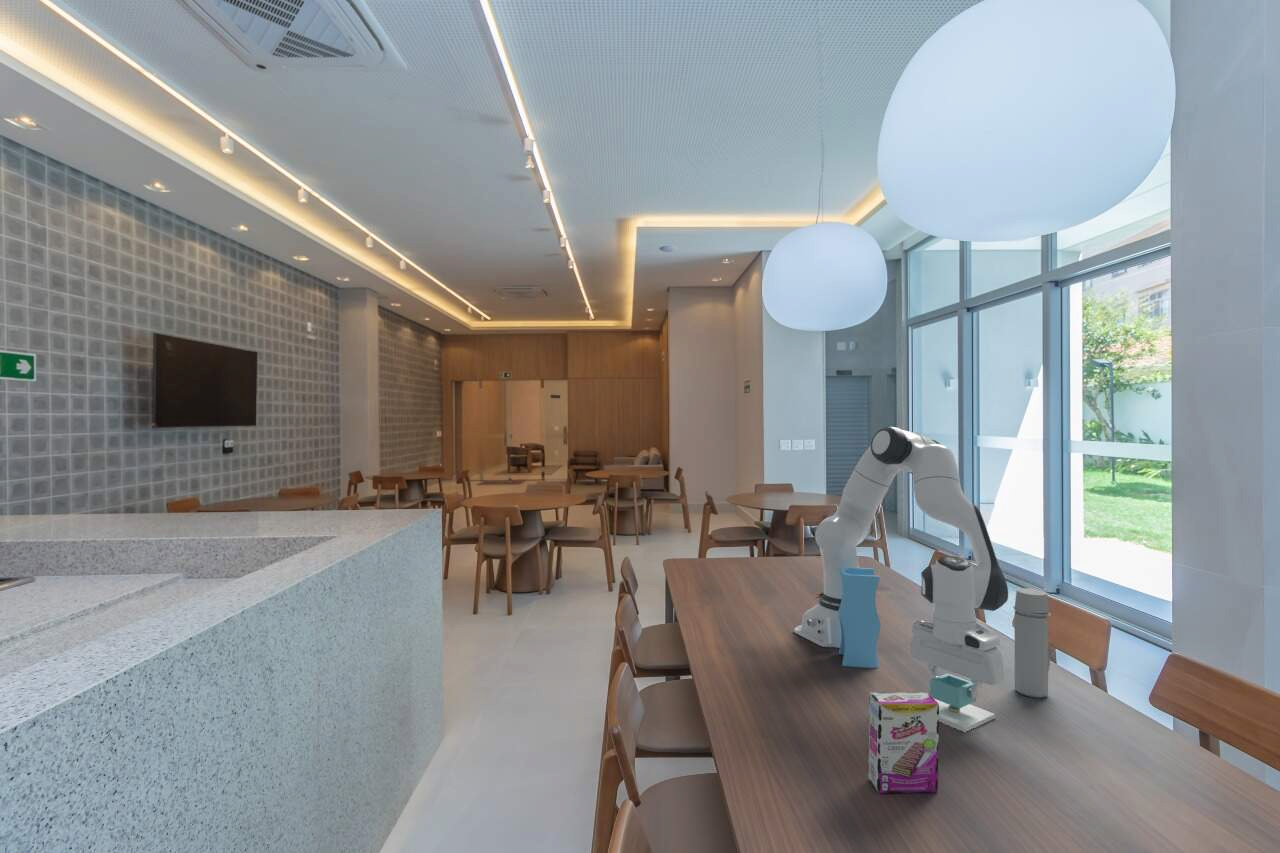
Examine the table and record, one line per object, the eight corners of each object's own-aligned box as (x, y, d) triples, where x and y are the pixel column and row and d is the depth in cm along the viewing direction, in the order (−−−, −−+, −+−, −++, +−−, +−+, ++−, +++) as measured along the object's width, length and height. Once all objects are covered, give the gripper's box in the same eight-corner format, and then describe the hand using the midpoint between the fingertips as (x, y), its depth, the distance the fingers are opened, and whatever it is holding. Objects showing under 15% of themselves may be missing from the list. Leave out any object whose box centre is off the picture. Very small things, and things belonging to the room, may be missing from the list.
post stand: (914, 711, 143) (914, 688, 143) (944, 698, 150) (944, 677, 150) (965, 732, 133) (965, 708, 133) (994, 718, 139) (994, 695, 139)
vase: (880, 668, 168) (880, 576, 168) (842, 665, 170) (842, 574, 170) (874, 655, 178) (874, 568, 178) (838, 653, 180) (838, 566, 180)
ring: (930, 697, 142) (930, 679, 142) (947, 690, 146) (947, 673, 146) (959, 708, 136) (959, 690, 136) (976, 700, 140) (976, 683, 140)
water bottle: (1033, 701, 148) (1033, 596, 148) (1005, 688, 156) (1005, 588, 155) (1063, 697, 150) (1063, 594, 150) (1034, 684, 158) (1034, 586, 158)
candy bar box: (878, 795, 110) (878, 703, 110) (867, 779, 115) (867, 691, 115) (940, 794, 111) (940, 702, 111) (926, 778, 116) (926, 690, 116)
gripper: (904, 620, 148) (904, 677, 148) (991, 645, 131) (991, 711, 131) (920, 615, 152) (920, 672, 152) (1007, 640, 134) (1007, 703, 134)
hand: (954, 690), depth 141 cm, fingers closed on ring, 7 cm apart
